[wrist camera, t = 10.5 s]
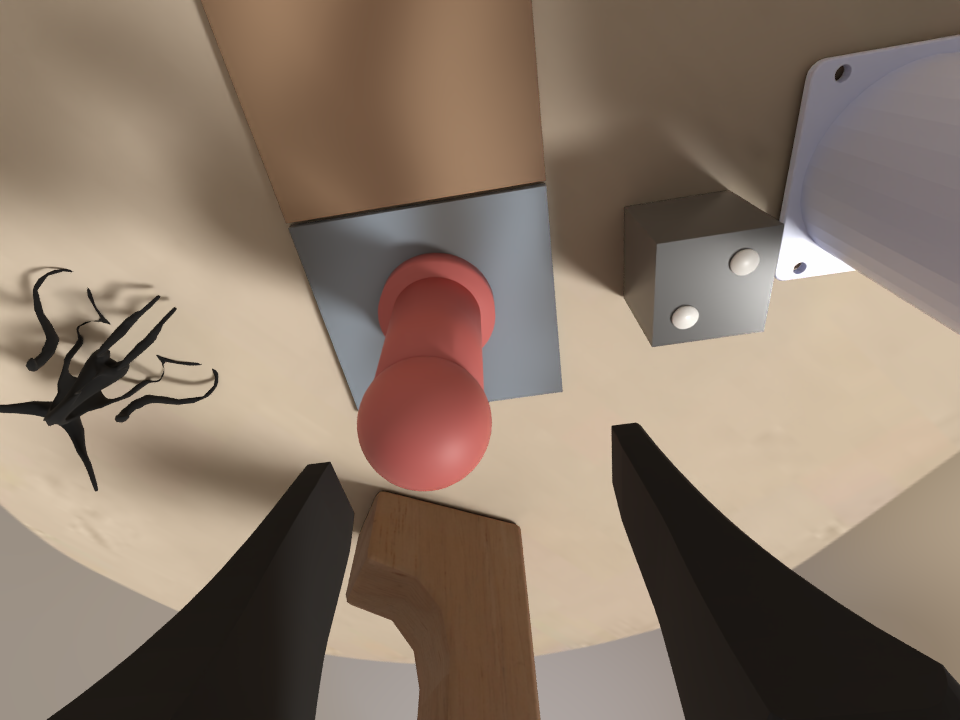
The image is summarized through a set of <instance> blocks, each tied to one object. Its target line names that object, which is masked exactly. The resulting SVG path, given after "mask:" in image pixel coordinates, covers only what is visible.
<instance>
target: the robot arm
mask: <svg viewBox="0 0 960 720" xmlns="http://www.w3.org/2000/svg"><path fill="white" fill-rule="evenodd" d="M842 65H843V66H844V72H843V74H842V76H841V77H840V78H839V79H838V80H835V73H836V71H837V69H838V68H839V67H840V66H842ZM779 221H780V222H781V223H783V224H785V225H784V230H783V235H782V240H781V245H780V250H779V256H778V261H777V266H776V271H775V276H774V277H775V278H776V279H778V280H780V281H785V280H792V279H799V278H806V277H813V276H820V275H826V274H833V273H840V272H847V271H854V270H856V271H858V272H859V273H861V274H863V275H864V276H866V277H867V278H869V279H871V280H872V281H874V282H875V283H877V284H879V285H880V286H882V287H883V288H885V289H887V290H888V291H890V292H891V293H893V294H895V295H896V296H898V297H899V298H901V299H903V300H904V301H906V302H907V303H909V304H911V305H912V306H914V307H915V308H917V309H919V310H920V311H922V312H923V313H925V314H927V315H928V316H930V317H931V318H933V319H935V320H936V321H938V322H940V323H941V324H943V325H944V326H946V327H948V328H949V329H951V330H952V331H954V332H956V333H957V334H959V335H960V34H959V35H954V36H948V37H942V38H937V39H931V40H925V41H920V42H914V43H908V44H903V45H897V46H891V47H886V48H880V49H874V50H869V51H863V52H857V53H852V54H846V55H840V56H835V57H829V58H824V59H821V60H819V61H817V62H816V63H815V64H814V65H812V67H811V68H810V70H809V71H808V74H807V76H806V80H805V86H804V91H803V96H802V102H801V107H800V112H799V118H798V123H797V128H796V134H795V139H794V145H793V150H792V155H791V161H790V166H789V171H788V177H787V182H786V187H785V193H784V198H783V204H782V209H781V214H780V220H779ZM800 262H801V265H800V267H798V268H797V269H795V270H793V268H794V266H795V265H796V264H798V263H800ZM612 483H613V487H614V491H615V495H616V499H617V503H618V507H619V511H620V515H621V519H622V522H623V525H624V528H625V530H626V533H627V536H628V539H629V541H630V544H631V547H632V549H633V552H634V555H635V557H636V560H637V563H638V565H639V568H640V571H641V573H642V576H643V579H644V581H645V584H646V587H647V589H648V592H649V595H650V597H651V600H652V603H653V606H654V608H655V611H656V614H657V618H658V621H659V624H660V627H661V630H662V634H663V637H664V641H665V645H666V648H667V652H668V656H669V659H670V663H671V666H672V670H673V674H674V678H675V682H676V686H677V689H678V693H679V697H680V701H681V704H682V708H683V712H684V716H685V720H960V685H959V683H958V682H957V681H956V680H955V679H954V678H953V677H952V676H951V674H950V673H949V672H948V671H947V670H946V669H945V667H944V666H943V665H942V664H940V663H938V662H937V661H935V660H933V659H931V658H930V657H928V656H926V655H924V654H923V653H921V652H919V651H917V650H916V649H914V648H912V647H911V646H909V645H907V644H905V643H904V642H902V641H900V640H898V639H897V638H895V637H893V636H891V635H890V634H888V633H886V632H884V631H883V630H881V629H879V628H877V627H876V626H874V625H873V624H871V623H869V622H868V621H866V620H865V619H863V618H862V617H860V616H858V615H857V614H855V613H854V612H852V611H850V610H849V609H847V608H846V607H844V606H843V605H841V604H840V603H838V602H837V601H835V600H834V599H832V598H831V597H829V596H828V595H827V594H825V593H824V592H822V591H821V590H819V589H818V588H816V587H815V586H814V585H812V584H810V583H809V582H808V581H806V580H805V579H804V578H802V577H801V576H799V575H798V574H796V573H795V572H794V571H792V570H791V569H789V568H788V567H787V566H785V565H784V564H783V563H781V562H780V561H779V560H778V559H776V558H775V557H774V556H772V555H771V554H770V553H768V552H767V551H766V550H765V549H763V548H762V547H761V546H760V545H758V544H757V543H756V542H755V541H754V540H752V539H751V538H750V537H749V536H747V535H746V534H745V533H744V532H743V531H741V530H740V529H739V528H738V527H737V526H736V525H735V524H733V523H732V522H731V521H730V520H729V519H728V518H727V517H726V516H724V515H723V514H722V513H721V512H720V511H719V510H718V509H717V508H716V507H715V506H714V505H713V504H712V503H711V502H709V501H708V500H707V499H706V498H705V497H704V496H703V495H702V494H701V493H700V492H699V491H698V490H697V489H696V488H695V487H694V486H693V485H692V484H691V483H690V482H689V480H688V479H687V478H686V477H685V476H684V475H683V474H682V473H681V472H680V471H679V470H678V469H677V468H676V467H675V466H674V465H673V464H672V462H671V461H670V460H669V459H668V458H667V457H666V456H665V454H664V453H663V452H662V451H661V450H660V449H659V448H658V446H657V445H656V444H655V443H654V442H653V440H652V439H651V438H650V437H649V435H648V434H647V433H646V432H645V430H644V429H643V428H642V426H641V425H639V424H638V423H630V424H622V425H614V426H612ZM353 521H354V511H353V509H352V507H351V505H350V503H349V501H348V499H347V496H346V494H345V492H344V490H343V488H342V486H341V484H340V482H339V479H338V477H337V475H336V473H335V471H334V469H333V467H332V464H331V462H325V463H317V464H309V465H307V466H306V467H305V469H304V470H303V471H302V472H301V473H300V475H299V476H298V477H297V479H296V480H295V481H294V482H293V484H292V485H291V486H290V487H289V489H288V490H287V491H286V493H285V494H284V495H283V496H282V498H281V499H280V500H279V501H278V503H277V504H276V505H275V506H274V508H273V509H272V510H271V511H270V513H269V514H268V515H267V516H266V518H265V519H264V520H263V521H262V523H261V524H260V525H259V526H258V527H257V529H256V530H255V531H254V532H253V534H252V535H251V536H250V537H249V538H248V539H247V541H246V542H245V543H244V544H243V545H242V546H241V547H240V548H239V550H238V551H237V552H236V553H235V554H234V555H233V556H232V558H231V559H230V560H229V561H228V562H227V563H226V564H225V566H224V567H223V568H222V569H221V570H220V571H219V572H218V573H217V574H216V575H215V576H214V578H213V579H212V580H211V581H210V582H209V583H208V584H207V585H206V586H205V587H204V588H203V589H202V590H201V591H200V592H199V593H198V594H197V595H196V596H195V597H194V598H193V599H192V600H191V601H190V602H189V603H188V604H187V605H186V606H185V607H184V608H183V609H182V610H181V611H179V612H178V613H177V614H176V615H175V616H174V617H173V618H172V619H171V620H170V621H169V622H167V623H166V624H165V625H164V626H163V627H162V628H161V629H160V630H158V631H157V632H156V633H155V634H154V635H153V636H152V637H151V638H149V639H148V640H147V641H146V642H145V643H144V644H143V645H142V646H140V647H139V648H138V649H137V650H136V651H135V652H134V653H132V654H131V655H130V656H129V657H128V658H126V659H125V660H124V661H123V662H121V663H120V664H119V665H118V666H117V667H115V668H114V669H113V670H112V671H110V672H109V673H108V674H107V675H105V676H104V677H103V678H102V679H100V680H99V681H98V682H96V683H95V684H94V685H93V686H91V687H90V688H89V689H88V690H86V691H85V692H84V693H82V694H81V695H80V696H78V697H77V698H76V699H74V700H73V701H72V702H70V703H69V704H68V705H66V706H65V707H63V708H62V709H61V710H60V711H58V712H57V713H55V714H54V715H52V716H51V717H50V718H48V719H47V720H315V715H316V706H317V699H318V693H319V685H320V680H321V673H322V667H323V661H324V655H325V651H326V646H327V641H328V637H329V633H330V629H331V625H332V621H333V617H334V613H335V609H336V605H337V601H338V597H339V593H340V589H341V586H342V582H343V578H344V573H345V569H346V565H347V561H348V557H349V553H350V546H351V539H352V530H353Z"/></svg>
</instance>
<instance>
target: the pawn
mask: <svg viewBox="0 0 960 720" xmlns="http://www.w3.org/2000/svg"><path fill="white" fill-rule="evenodd" d="M378 319H379V323H380V327H381V330H382V332H383V334H384V336H385V341H384V344H383V348H382V352H381V355H380V359H379V363H378V366H377V370H376V374H375V378H374V380H373V381H372V383H371V384H370V386H369V387H368V389H367V390H366V392H365V394H364V396H363V398H362V401H361V403H360V407H359V411H358V416H357V432H358V438H359V443H360V446H361V449H362V451H363V453H364V455H365V457H366V459H367V461H368V462H369V463H370V465H371V466H372V467H373V469H374V470H375V471H376V472H377V473H378V474H379V475H381V476H382V477H383V478H384V479H386V480H387V481H389V482H390V483H392V484H394V485H396V486H399V487H402V488H405V489H409V490H414V491H433V490H439V489H442V488H445V487H448V486H450V485H452V484H454V483H456V482H458V481H460V480H461V479H463V478H464V477H465V476H467V475H468V474H469V473H470V472H471V471H472V470H473V469H474V468H475V467H476V466H477V464H478V463H479V462H480V460H481V459H482V457H483V455H484V453H485V451H486V449H487V446H488V443H489V439H490V435H491V427H492V418H491V410H490V406H489V402H488V399H487V397H486V395H485V392H484V381H483V357H482V348H483V347H484V346H485V344H486V343H487V342H488V340H489V338H490V336H491V334H492V332H493V329H494V324H495V305H494V297H493V292H492V289H491V287H490V284H489V283H488V281H487V279H486V278H485V276H484V275H483V274H482V273H481V272H480V271H479V270H478V269H477V268H476V267H475V266H474V265H472V264H471V263H469V262H468V261H466V260H464V259H462V258H460V257H457V256H454V255H450V254H445V253H426V254H422V255H418V256H415V257H412V258H410V259H408V260H406V261H405V262H403V263H402V264H400V265H399V266H398V267H397V268H396V269H395V270H394V271H393V272H392V273H391V274H390V276H389V277H388V279H387V281H386V283H385V286H384V288H383V291H382V294H381V297H380V301H379V305H378Z"/></svg>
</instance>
